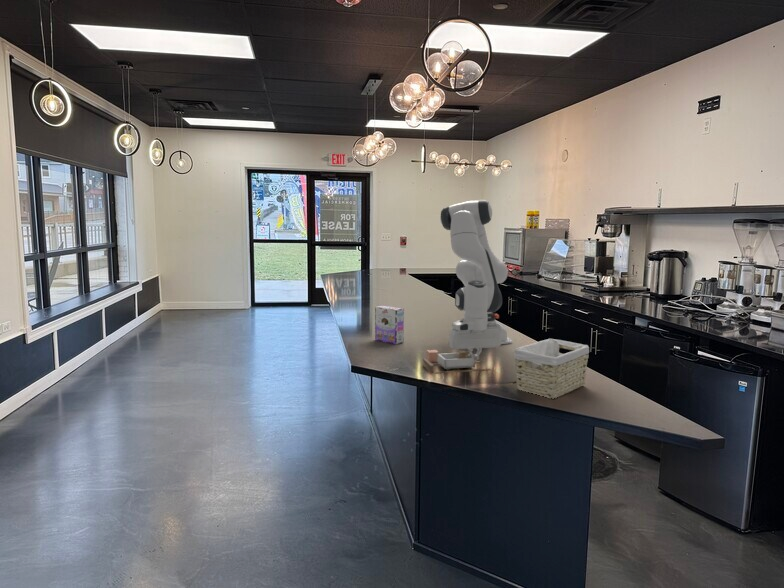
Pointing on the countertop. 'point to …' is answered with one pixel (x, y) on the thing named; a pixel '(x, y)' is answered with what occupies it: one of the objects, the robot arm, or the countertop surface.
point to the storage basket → (551, 367)
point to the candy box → (389, 324)
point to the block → (432, 355)
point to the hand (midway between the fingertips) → (474, 359)
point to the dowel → (463, 354)
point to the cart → (455, 361)
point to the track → (431, 369)
